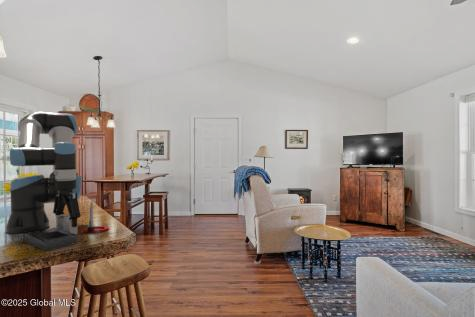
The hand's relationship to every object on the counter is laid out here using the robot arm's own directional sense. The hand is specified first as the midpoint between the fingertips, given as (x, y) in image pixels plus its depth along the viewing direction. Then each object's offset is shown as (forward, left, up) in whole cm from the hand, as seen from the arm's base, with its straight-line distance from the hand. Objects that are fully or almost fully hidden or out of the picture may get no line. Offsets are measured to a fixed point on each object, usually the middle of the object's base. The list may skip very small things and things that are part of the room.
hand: (66, 232), depth 111 cm
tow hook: (+7, +9, -1) cm, 11 cm away
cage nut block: (0, 0, 0) cm, 0 cm away
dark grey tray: (+8, -9, 0) cm, 12 cm away
